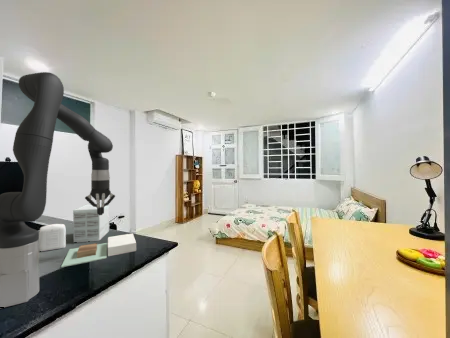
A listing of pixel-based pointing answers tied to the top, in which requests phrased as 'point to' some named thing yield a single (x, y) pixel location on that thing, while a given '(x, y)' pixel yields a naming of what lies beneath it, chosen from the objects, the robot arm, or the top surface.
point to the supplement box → (90, 223)
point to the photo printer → (52, 237)
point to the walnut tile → (87, 250)
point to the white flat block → (121, 244)
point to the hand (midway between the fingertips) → (100, 214)
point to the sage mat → (72, 257)
